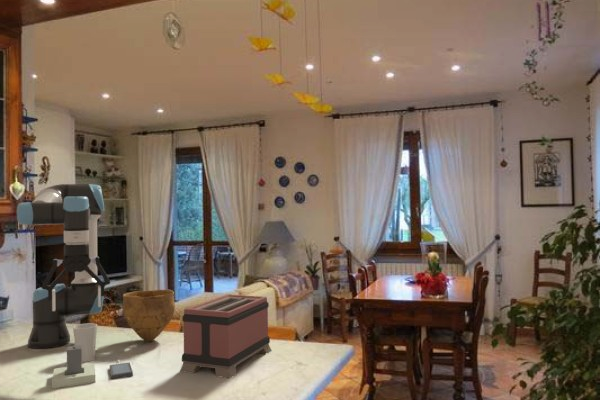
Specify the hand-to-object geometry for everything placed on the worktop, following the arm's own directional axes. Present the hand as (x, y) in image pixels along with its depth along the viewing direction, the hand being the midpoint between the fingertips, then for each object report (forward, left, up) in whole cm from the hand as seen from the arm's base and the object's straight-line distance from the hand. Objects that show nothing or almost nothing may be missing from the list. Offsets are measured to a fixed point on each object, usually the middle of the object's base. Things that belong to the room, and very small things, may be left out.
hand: (77, 308), depth 159 cm
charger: (+4, -1, -22) cm, 22 cm away
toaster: (+6, +50, -22) cm, 55 cm away
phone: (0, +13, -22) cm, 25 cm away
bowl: (-31, +27, -22) cm, 46 cm away
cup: (-17, +3, -22) cm, 28 cm away
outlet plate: (+4, -1, -22) cm, 22 cm away
